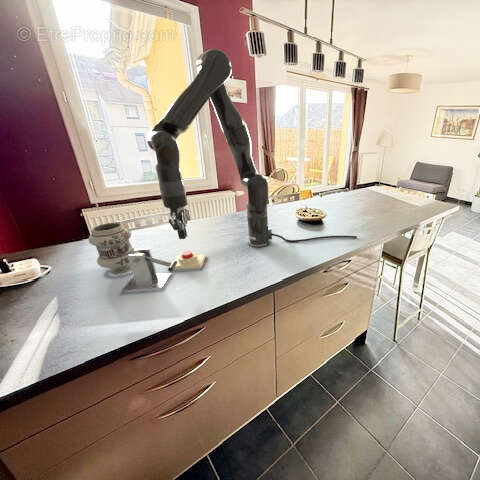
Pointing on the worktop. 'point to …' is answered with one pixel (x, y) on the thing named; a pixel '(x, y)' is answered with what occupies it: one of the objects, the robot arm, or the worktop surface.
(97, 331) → the worktop surface
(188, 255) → the button
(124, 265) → the apothecary jar
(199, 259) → the button block
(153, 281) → the bracket
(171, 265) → the lever
